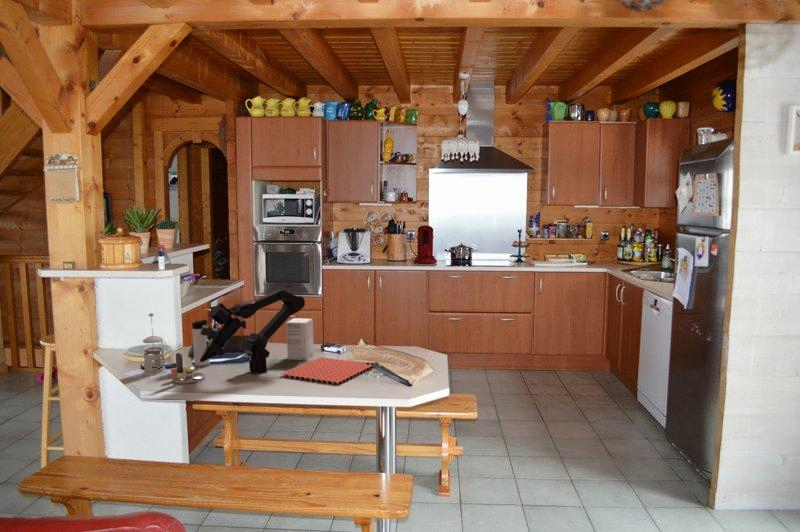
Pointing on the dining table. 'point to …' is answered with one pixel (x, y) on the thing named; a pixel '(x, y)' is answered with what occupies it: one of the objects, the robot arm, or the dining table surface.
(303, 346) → the supplement box
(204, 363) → the travel mug
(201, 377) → the post base
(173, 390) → the dining table surface
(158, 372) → the french press
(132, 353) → the dining table surface
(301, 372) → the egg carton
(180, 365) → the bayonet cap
